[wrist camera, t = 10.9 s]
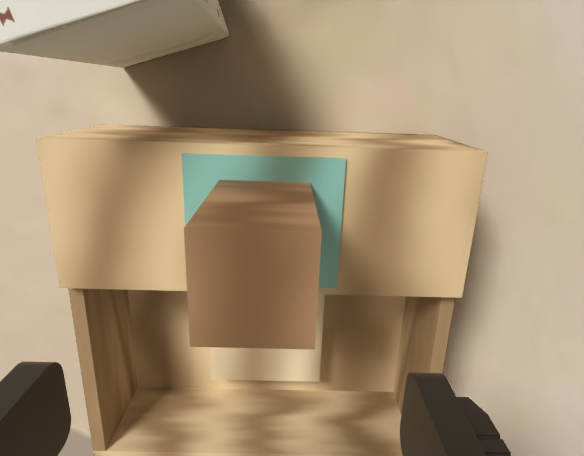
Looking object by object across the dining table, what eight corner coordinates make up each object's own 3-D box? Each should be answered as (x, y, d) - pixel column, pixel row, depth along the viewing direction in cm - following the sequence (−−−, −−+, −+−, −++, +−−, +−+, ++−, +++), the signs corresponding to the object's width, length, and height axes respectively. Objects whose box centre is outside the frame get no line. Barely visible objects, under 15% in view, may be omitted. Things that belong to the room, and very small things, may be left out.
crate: (435, 135, 28) (489, 152, 20) (399, 393, 35) (430, 479, 27) (103, 124, 28) (33, 138, 20) (132, 388, 34) (87, 473, 27)
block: (310, 182, 21) (321, 231, 14) (306, 265, 22) (314, 349, 15) (219, 179, 21) (183, 228, 14) (221, 263, 22) (189, 346, 15)
